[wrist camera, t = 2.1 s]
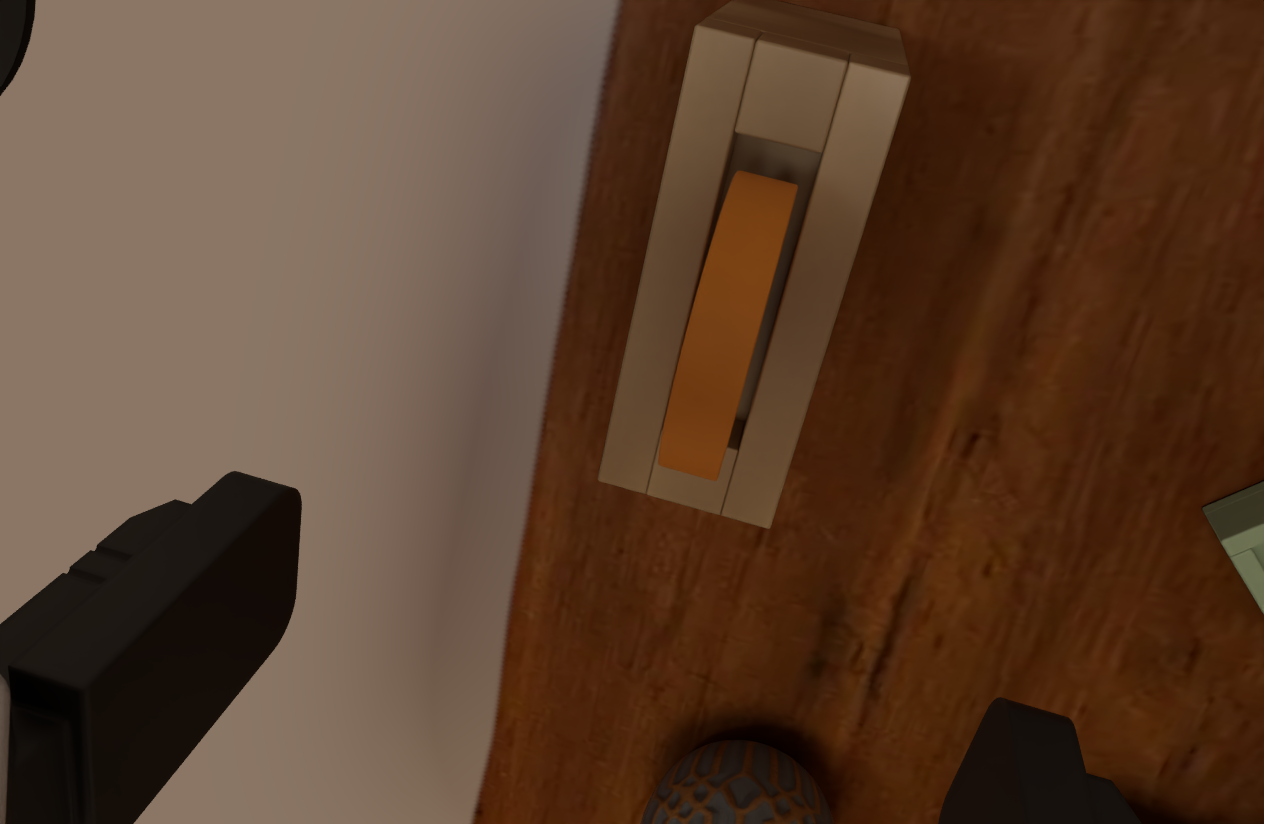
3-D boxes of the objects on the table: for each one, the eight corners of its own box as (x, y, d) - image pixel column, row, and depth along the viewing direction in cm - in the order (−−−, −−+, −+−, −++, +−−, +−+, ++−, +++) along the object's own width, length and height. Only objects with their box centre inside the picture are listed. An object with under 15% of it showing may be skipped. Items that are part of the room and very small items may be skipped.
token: (688, 390, 25) (639, 521, 20) (750, 141, 22) (713, 215, 17) (737, 403, 25) (701, 538, 20) (805, 155, 22) (786, 234, 17)
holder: (659, 347, 32) (596, 481, 25) (742, -8, 28) (695, 24, 20) (793, 383, 32) (769, 530, 24) (900, 29, 27) (912, 76, 20)
